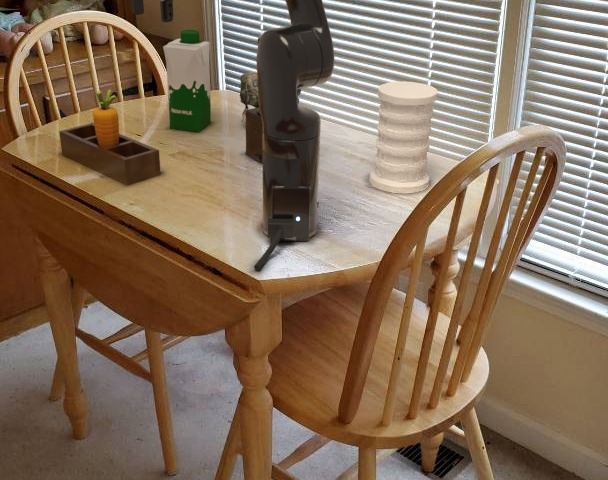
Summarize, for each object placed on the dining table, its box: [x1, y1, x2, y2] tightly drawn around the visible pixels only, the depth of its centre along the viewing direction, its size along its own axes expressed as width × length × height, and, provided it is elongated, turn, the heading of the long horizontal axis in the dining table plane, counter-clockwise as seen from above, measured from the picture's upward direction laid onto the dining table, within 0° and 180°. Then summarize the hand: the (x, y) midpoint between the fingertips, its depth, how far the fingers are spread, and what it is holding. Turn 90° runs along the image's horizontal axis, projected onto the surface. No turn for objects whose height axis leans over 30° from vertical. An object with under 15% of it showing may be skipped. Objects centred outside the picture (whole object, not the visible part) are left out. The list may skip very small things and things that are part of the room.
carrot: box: [92, 89, 120, 148], centre depth 157 cm, size 5×5×15 cm
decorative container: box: [369, 81, 438, 194], centre depth 153 cm, size 12×12×18 cm
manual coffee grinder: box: [244, 89, 302, 164], centre depth 161 cm, size 16×11×18 cm
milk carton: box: [162, 29, 212, 133], centre depth 177 cm, size 9×9×20 cm
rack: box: [58, 122, 162, 186], centre depth 160 cm, size 8×22×5 cm, turn 47°
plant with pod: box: [239, 31, 266, 123], centre depth 179 cm, size 8×11×20 cm
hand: (152, 18), depth 153 cm, fingers open, 8 cm apart
